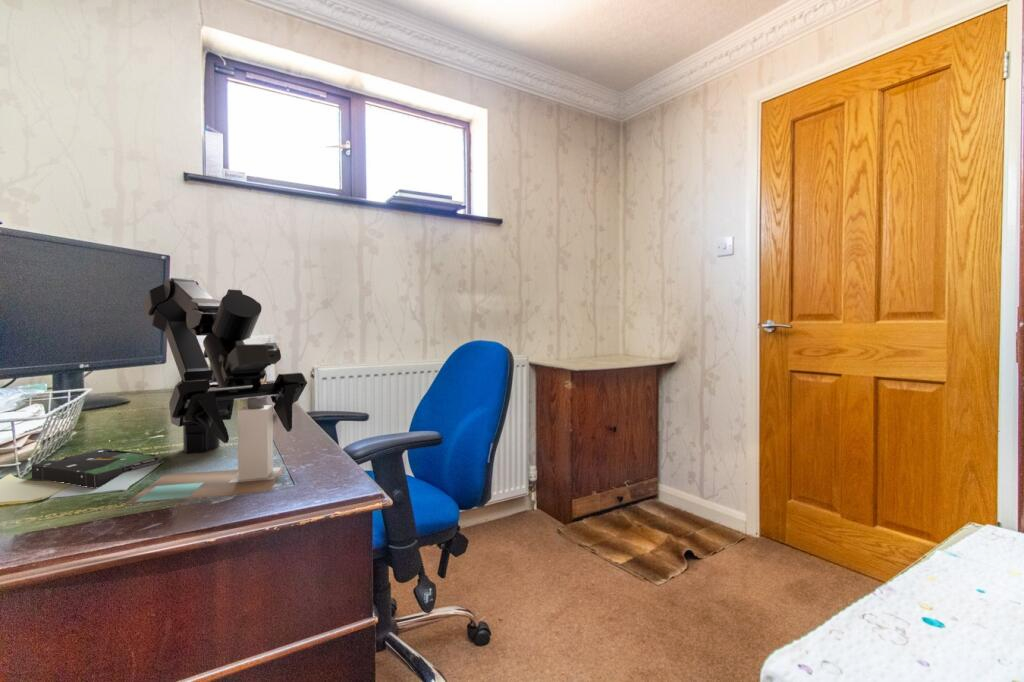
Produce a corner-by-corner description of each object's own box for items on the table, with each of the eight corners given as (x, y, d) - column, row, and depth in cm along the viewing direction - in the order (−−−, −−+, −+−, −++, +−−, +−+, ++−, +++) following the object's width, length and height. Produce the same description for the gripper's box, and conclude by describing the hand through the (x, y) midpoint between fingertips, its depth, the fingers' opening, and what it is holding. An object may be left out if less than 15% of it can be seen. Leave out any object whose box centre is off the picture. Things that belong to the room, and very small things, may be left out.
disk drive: (29, 482, 72) (96, 491, 68) (28, 465, 72) (95, 473, 68) (103, 463, 82) (165, 470, 78) (103, 447, 82) (165, 454, 78)
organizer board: (164, 482, 71) (164, 474, 71) (285, 473, 76) (285, 465, 75) (124, 513, 59) (123, 504, 59) (269, 500, 64) (269, 491, 64)
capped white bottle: (245, 471, 72) (244, 396, 72) (273, 469, 74) (272, 395, 73) (238, 479, 69) (237, 400, 68) (267, 477, 70) (267, 399, 69)
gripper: (174, 326, 65) (203, 412, 59) (301, 326, 80) (336, 395, 74) (158, 376, 71) (183, 460, 64) (280, 368, 85) (311, 436, 79)
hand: (260, 435), depth 70 cm, fingers open, 9 cm apart
